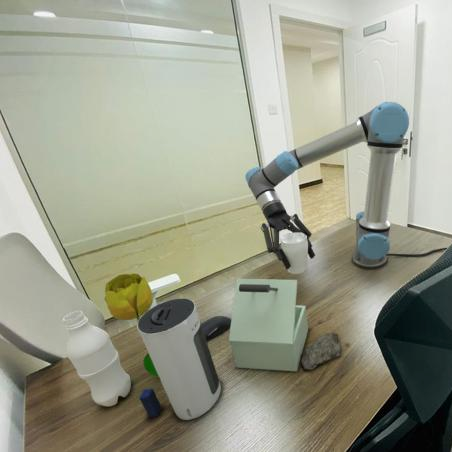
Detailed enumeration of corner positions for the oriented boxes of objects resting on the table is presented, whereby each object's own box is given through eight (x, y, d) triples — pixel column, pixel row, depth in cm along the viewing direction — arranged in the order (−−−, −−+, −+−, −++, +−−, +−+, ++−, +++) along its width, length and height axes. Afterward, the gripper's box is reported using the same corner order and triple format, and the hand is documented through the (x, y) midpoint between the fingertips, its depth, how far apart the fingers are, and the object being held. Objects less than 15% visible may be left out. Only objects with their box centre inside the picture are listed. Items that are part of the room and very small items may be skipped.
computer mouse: (242, 337, 79) (239, 327, 78) (178, 371, 69) (174, 360, 68) (228, 316, 88) (225, 307, 87) (170, 344, 78) (166, 334, 77)
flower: (141, 376, 69) (96, 280, 57) (175, 356, 74) (139, 265, 62) (149, 397, 63) (101, 296, 52) (185, 375, 68) (148, 278, 57)
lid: (238, 278, 70) (221, 276, 62) (297, 280, 68) (288, 277, 60) (230, 340, 66) (211, 345, 58) (293, 343, 64) (282, 349, 56)
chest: (257, 327, 83) (252, 303, 79) (308, 329, 81) (305, 305, 77) (236, 367, 70) (229, 341, 66) (297, 371, 68) (293, 344, 64)
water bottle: (111, 383, 67) (69, 305, 57) (140, 380, 67) (103, 302, 58) (89, 412, 60) (37, 329, 51) (121, 408, 61) (76, 326, 51)
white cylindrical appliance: (212, 419, 58) (180, 328, 48) (164, 424, 57) (121, 334, 47) (226, 375, 67) (202, 293, 58) (185, 380, 67) (154, 297, 57)
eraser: (162, 407, 61) (153, 387, 58) (158, 417, 59) (148, 396, 56) (153, 408, 60) (143, 388, 58) (148, 418, 58) (137, 398, 56)
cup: (305, 277, 85) (302, 244, 80) (280, 275, 87) (275, 243, 82) (313, 263, 93) (310, 232, 89) (289, 261, 95) (285, 231, 91)
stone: (305, 374, 67) (304, 366, 66) (294, 351, 74) (293, 343, 73) (352, 353, 72) (352, 345, 71) (338, 333, 79) (338, 325, 78)
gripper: (294, 205, 101) (322, 255, 95) (240, 220, 88) (269, 278, 83) (301, 194, 95) (331, 247, 90) (243, 208, 82) (274, 271, 77)
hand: (301, 262), depth 86 cm, fingers closed on cup, 9 cm apart
